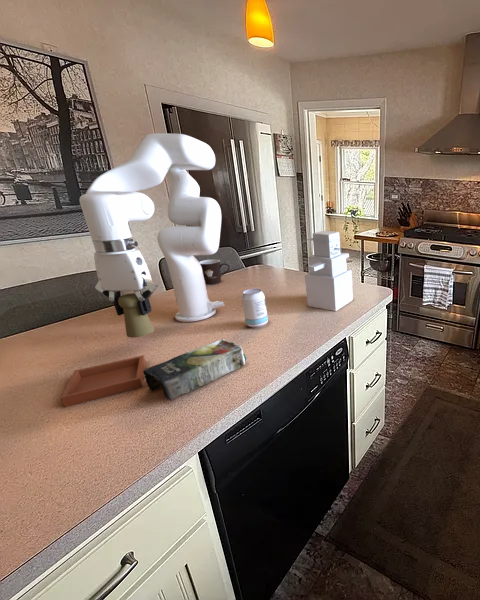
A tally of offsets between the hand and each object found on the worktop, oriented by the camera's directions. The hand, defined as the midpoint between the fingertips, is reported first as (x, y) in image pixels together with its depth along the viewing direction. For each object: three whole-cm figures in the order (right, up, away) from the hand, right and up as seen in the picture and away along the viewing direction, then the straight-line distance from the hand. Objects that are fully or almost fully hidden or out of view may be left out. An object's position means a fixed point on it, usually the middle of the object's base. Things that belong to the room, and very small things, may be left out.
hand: (134, 312), depth 87 cm
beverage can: (+22, -5, +24) cm, 33 cm away
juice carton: (+21, -16, -5) cm, 27 cm away
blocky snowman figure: (+43, +2, +43) cm, 61 cm away
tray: (0, -17, -7) cm, 18 cm away
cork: (0, -6, +2) cm, 6 cm away
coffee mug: (-16, +11, +67) cm, 69 cm away
